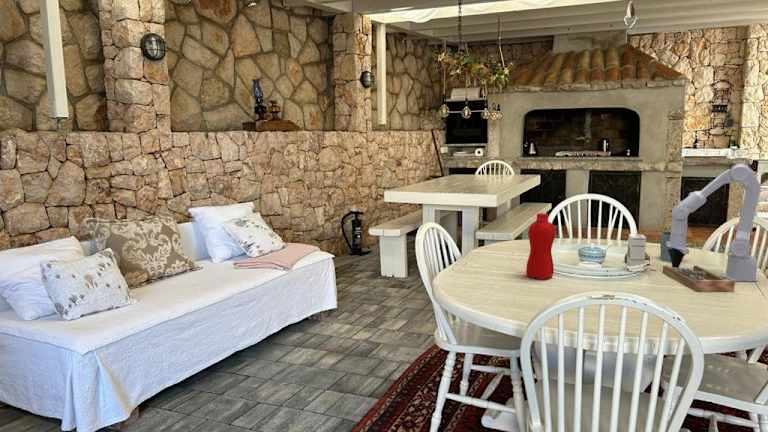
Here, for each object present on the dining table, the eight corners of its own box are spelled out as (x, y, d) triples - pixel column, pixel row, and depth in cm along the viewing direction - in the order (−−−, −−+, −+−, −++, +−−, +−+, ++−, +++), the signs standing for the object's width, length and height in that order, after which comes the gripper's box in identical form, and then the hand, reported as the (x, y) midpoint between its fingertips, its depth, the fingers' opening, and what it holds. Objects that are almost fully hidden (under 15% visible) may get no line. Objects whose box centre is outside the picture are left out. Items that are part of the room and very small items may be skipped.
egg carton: (707, 282, 214) (708, 272, 213) (689, 283, 213) (690, 273, 212) (689, 275, 224) (690, 265, 223) (671, 275, 223) (672, 265, 223)
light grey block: (623, 271, 242) (625, 257, 238) (624, 256, 250) (625, 242, 245) (649, 274, 238) (650, 259, 234) (648, 259, 246) (650, 244, 242)
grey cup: (685, 259, 249) (687, 232, 247) (682, 264, 240) (685, 236, 238) (659, 256, 254) (662, 230, 252) (656, 261, 246) (659, 233, 244)
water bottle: (558, 275, 222) (561, 212, 218) (544, 281, 214) (548, 216, 210) (536, 271, 228) (539, 210, 224) (522, 276, 220) (525, 213, 216)
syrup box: (644, 272, 227) (647, 237, 225) (628, 271, 228) (631, 236, 226) (640, 268, 233) (643, 234, 230) (625, 267, 234) (628, 233, 231)
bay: (696, 272, 226) (696, 263, 226) (733, 291, 202) (735, 281, 201) (662, 272, 226) (663, 263, 226) (696, 291, 202) (697, 280, 201)
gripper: (660, 231, 234) (657, 262, 237) (677, 238, 220) (674, 272, 222) (677, 231, 234) (674, 262, 237) (695, 238, 220) (692, 272, 222)
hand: (675, 267), depth 229 cm, fingers closed
